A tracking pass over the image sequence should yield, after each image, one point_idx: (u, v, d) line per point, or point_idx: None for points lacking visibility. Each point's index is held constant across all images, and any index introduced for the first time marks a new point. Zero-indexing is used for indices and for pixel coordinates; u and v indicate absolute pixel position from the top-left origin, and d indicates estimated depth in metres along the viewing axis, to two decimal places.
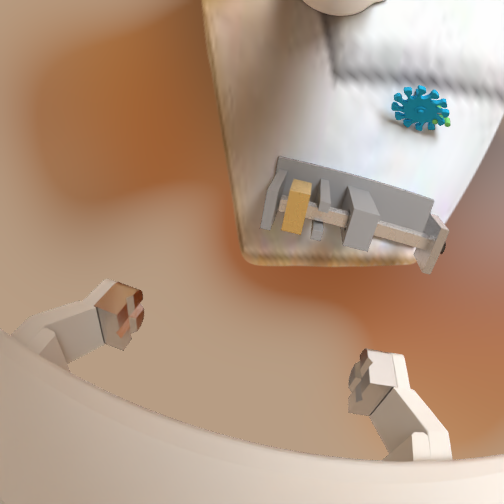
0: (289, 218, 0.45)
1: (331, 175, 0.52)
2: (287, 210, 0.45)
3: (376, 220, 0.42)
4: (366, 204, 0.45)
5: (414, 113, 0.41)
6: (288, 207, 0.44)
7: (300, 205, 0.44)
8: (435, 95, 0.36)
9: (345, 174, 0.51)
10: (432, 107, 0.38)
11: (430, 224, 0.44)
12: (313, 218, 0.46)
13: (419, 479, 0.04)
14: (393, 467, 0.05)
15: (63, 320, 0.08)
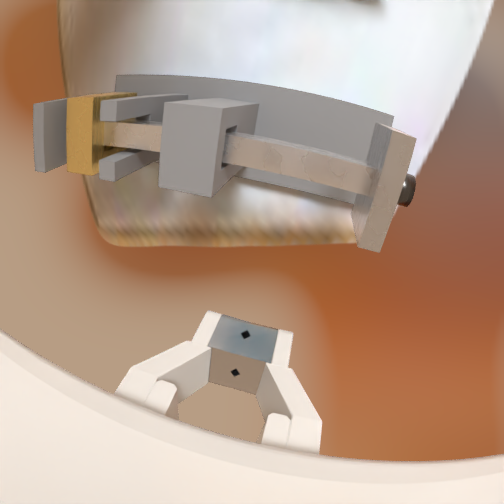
0: (73, 147, 0.21)
1: (191, 85, 0.28)
2: (68, 134, 0.20)
3: (216, 120, 0.18)
4: (215, 103, 0.21)
5: None
6: (69, 128, 0.20)
7: (83, 121, 0.20)
8: None
9: (214, 79, 0.27)
10: None
11: (375, 141, 0.20)
12: (116, 144, 0.22)
13: (419, 479, 0.04)
14: (393, 467, 0.05)
15: (178, 367, 0.08)
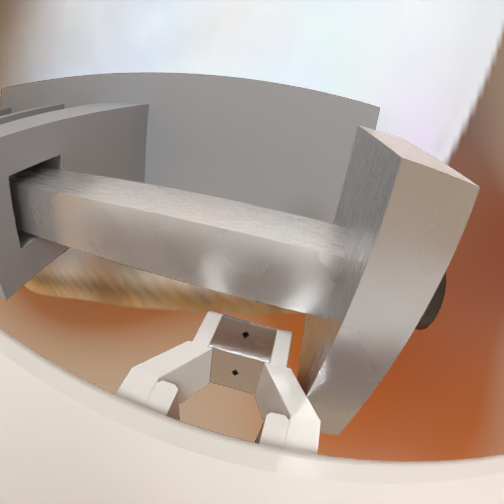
0: None
1: (67, 90, 0.17)
2: None
3: None
4: (22, 124, 0.09)
5: None
6: None
7: None
8: None
9: (91, 77, 0.16)
10: None
11: (354, 173, 0.09)
12: None
13: (419, 479, 0.04)
14: (393, 467, 0.05)
15: (179, 367, 0.08)
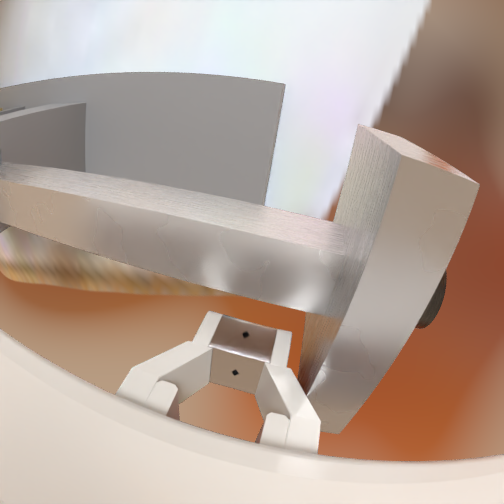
0: None
1: (26, 94, 0.17)
2: None
3: None
4: None
5: None
6: None
7: None
8: None
9: (44, 82, 0.16)
10: None
11: (354, 171, 0.09)
12: None
13: (419, 479, 0.04)
14: (393, 467, 0.05)
15: (179, 367, 0.08)
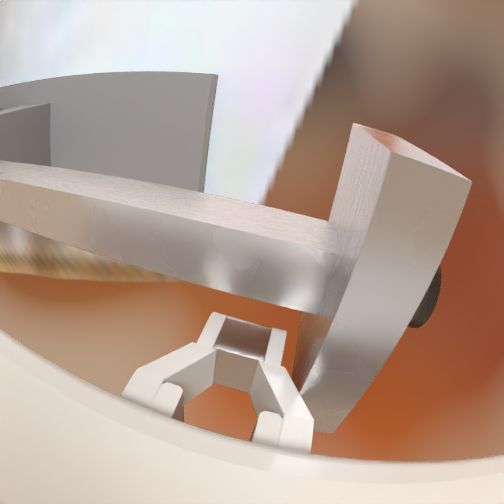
0: None
1: (3, 97, 0.17)
2: None
3: None
4: None
5: None
6: None
7: None
8: None
9: (17, 85, 0.17)
10: None
11: (349, 170, 0.09)
12: None
13: (419, 479, 0.04)
14: (393, 467, 0.05)
15: (184, 369, 0.08)
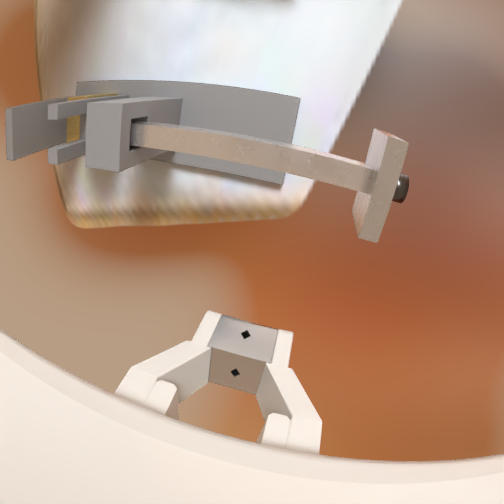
0: (71, 131, 0.29)
1: (131, 87, 0.32)
2: (68, 122, 0.29)
3: (119, 112, 0.22)
4: (130, 100, 0.24)
5: None
6: (68, 118, 0.28)
7: None
8: None
9: (148, 81, 0.31)
10: None
11: (374, 145, 0.23)
12: (140, 144, 0.25)
13: (419, 479, 0.04)
14: (393, 467, 0.05)
15: (178, 367, 0.08)
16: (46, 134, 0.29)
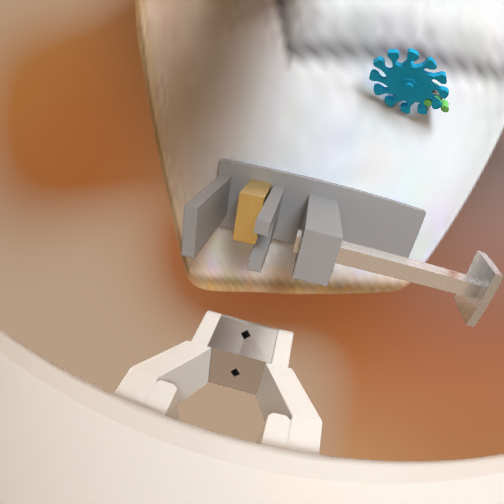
0: (241, 225, 0.38)
1: (287, 181, 0.41)
2: (238, 216, 0.38)
3: (338, 244, 0.31)
4: (327, 221, 0.34)
5: (400, 87, 0.30)
6: (239, 212, 0.38)
7: (253, 211, 0.37)
8: (431, 64, 0.24)
9: (306, 179, 0.40)
10: (426, 81, 0.27)
11: (478, 265, 0.32)
12: (339, 262, 0.34)
13: (419, 479, 0.04)
14: (393, 467, 0.05)
15: (178, 367, 0.08)
16: (211, 224, 0.38)
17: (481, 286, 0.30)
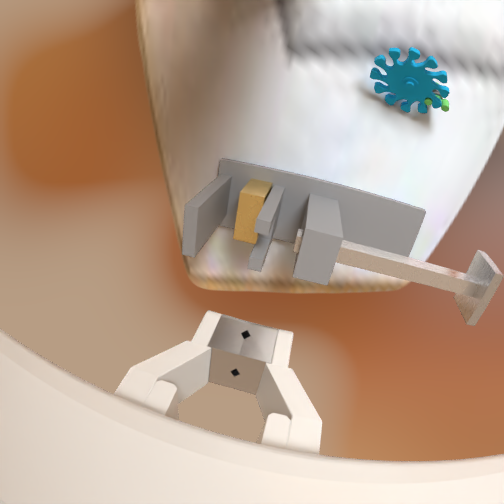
0: (242, 224, 0.38)
1: (287, 180, 0.41)
2: (238, 215, 0.38)
3: (338, 244, 0.31)
4: (327, 220, 0.34)
5: (401, 86, 0.30)
6: (240, 212, 0.38)
7: (253, 210, 0.37)
8: (432, 63, 0.24)
9: (306, 179, 0.40)
10: (426, 80, 0.27)
11: (478, 264, 0.32)
12: (339, 261, 0.34)
13: (419, 479, 0.04)
14: (393, 467, 0.05)
15: (178, 367, 0.08)
16: (211, 223, 0.38)
17: (481, 285, 0.30)
